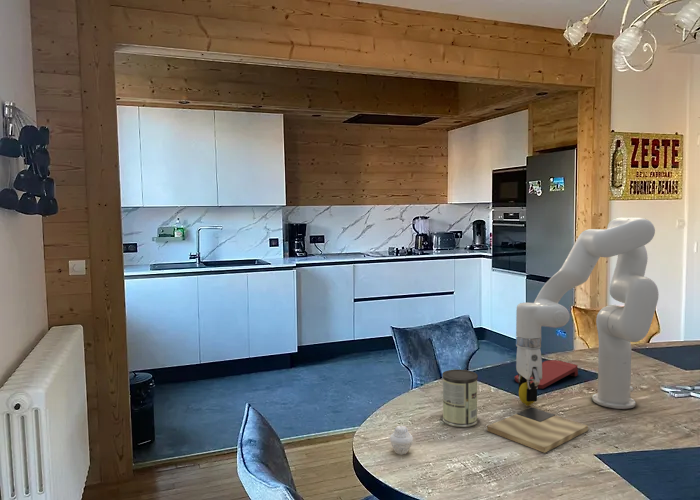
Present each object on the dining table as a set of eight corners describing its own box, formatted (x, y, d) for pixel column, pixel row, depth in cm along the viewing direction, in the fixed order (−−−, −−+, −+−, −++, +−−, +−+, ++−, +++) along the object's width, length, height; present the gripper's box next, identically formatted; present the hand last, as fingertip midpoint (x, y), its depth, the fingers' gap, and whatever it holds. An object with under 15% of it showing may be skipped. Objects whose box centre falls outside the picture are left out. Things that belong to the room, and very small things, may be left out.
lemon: (537, 409, 168) (538, 384, 167) (519, 408, 169) (519, 383, 168) (535, 403, 173) (535, 379, 172) (517, 402, 174) (517, 378, 174)
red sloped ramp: (541, 399, 187) (582, 376, 200) (540, 386, 186) (582, 363, 199) (513, 390, 197) (554, 368, 210) (512, 377, 196) (553, 356, 209)
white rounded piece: (396, 459, 135) (396, 432, 134) (385, 449, 140) (385, 423, 140) (417, 454, 137) (417, 427, 137) (405, 445, 143) (405, 419, 142)
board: (531, 412, 165) (531, 407, 165) (587, 430, 151) (587, 424, 151) (487, 431, 152) (487, 425, 151) (544, 453, 138) (544, 446, 137)
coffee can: (445, 412, 166) (445, 367, 165) (479, 416, 163) (479, 370, 162) (439, 424, 156) (439, 377, 155) (475, 429, 153) (475, 381, 152)
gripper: (552, 348, 161) (551, 406, 162) (528, 335, 178) (527, 388, 179) (528, 349, 161) (527, 407, 162) (506, 336, 178) (506, 389, 179)
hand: (527, 397), depth 171 cm, fingers closed on lemon, 5 cm apart
